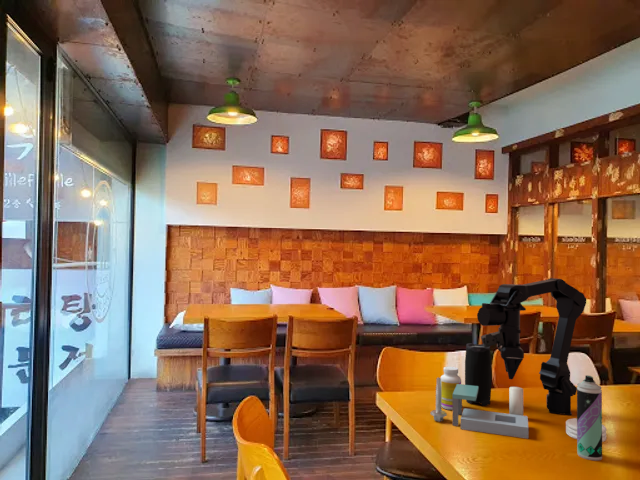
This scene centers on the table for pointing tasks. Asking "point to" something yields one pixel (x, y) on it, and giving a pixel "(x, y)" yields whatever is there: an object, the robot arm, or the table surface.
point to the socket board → (495, 423)
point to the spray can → (589, 419)
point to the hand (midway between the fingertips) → (509, 375)
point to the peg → (516, 401)
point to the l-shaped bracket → (462, 393)
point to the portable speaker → (478, 371)
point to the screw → (438, 403)
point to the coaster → (572, 429)
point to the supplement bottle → (449, 386)
